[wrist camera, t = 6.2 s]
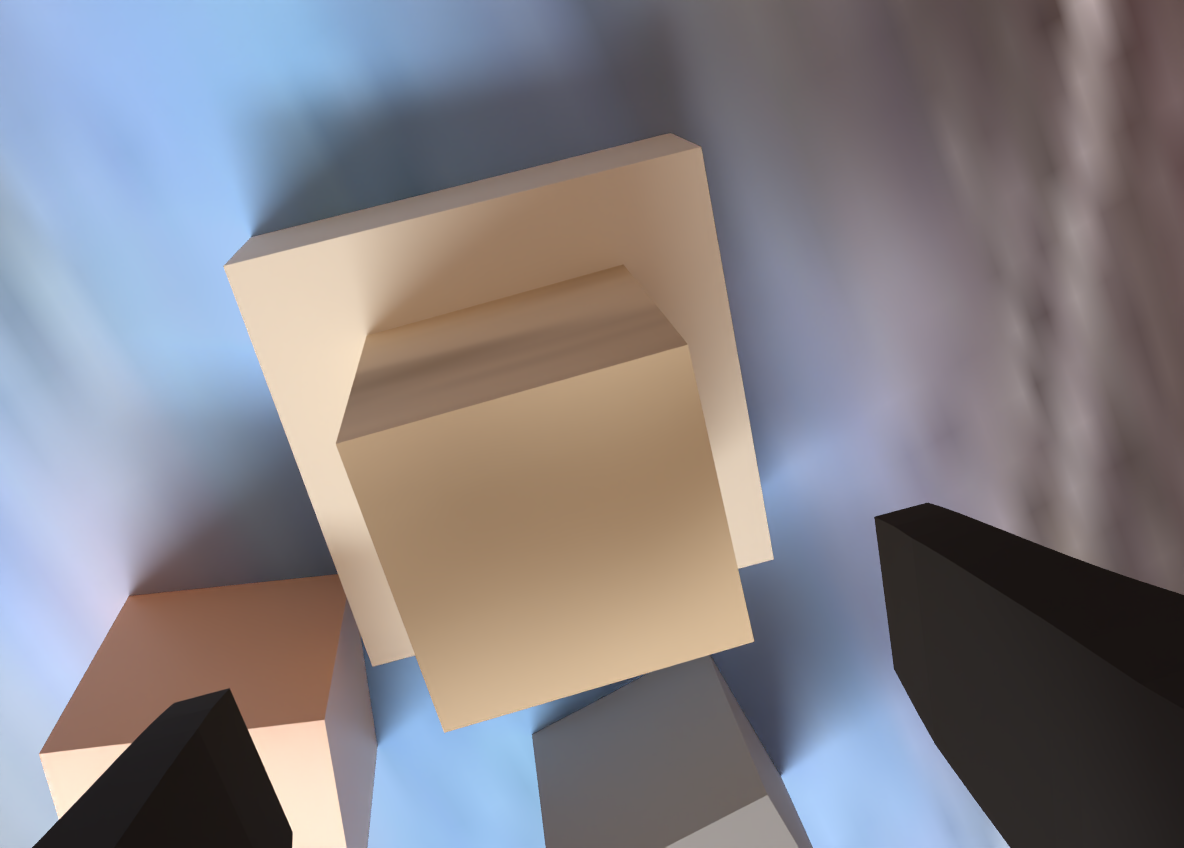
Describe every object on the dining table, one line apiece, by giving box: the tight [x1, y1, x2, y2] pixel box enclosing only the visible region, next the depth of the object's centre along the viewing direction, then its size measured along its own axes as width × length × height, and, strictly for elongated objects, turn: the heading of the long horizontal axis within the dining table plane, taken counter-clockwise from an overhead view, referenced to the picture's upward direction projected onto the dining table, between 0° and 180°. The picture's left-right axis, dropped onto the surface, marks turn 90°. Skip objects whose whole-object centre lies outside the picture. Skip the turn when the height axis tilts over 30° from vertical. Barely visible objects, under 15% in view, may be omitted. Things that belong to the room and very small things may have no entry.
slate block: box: [532, 655, 813, 848], centre depth 22 cm, size 4×4×5 cm
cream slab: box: [224, 133, 774, 667], centre depth 19 cm, size 8×8×3 cm
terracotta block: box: [39, 574, 377, 848], centre depth 20 cm, size 4×4×5 cm
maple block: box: [336, 264, 754, 733], centre depth 16 cm, size 4×4×5 cm
